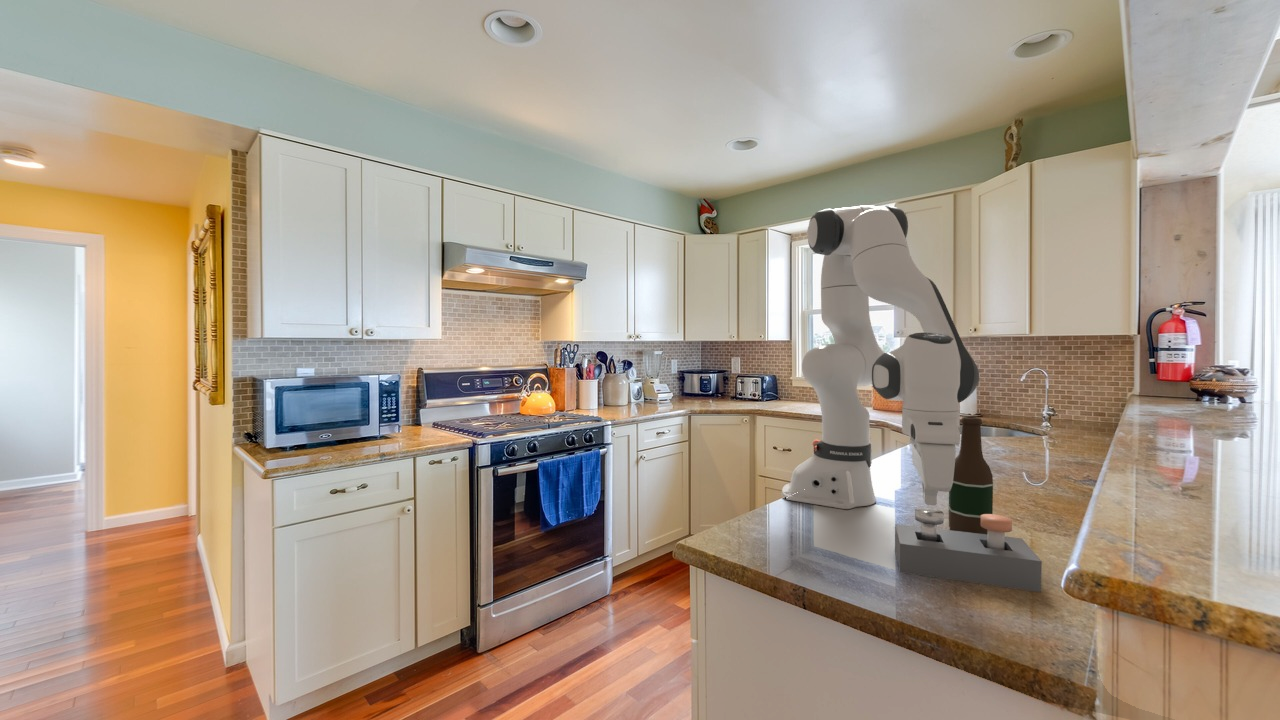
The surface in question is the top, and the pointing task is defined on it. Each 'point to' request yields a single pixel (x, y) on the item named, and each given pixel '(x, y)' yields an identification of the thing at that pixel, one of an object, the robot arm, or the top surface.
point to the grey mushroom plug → (929, 522)
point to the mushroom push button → (996, 529)
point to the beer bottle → (970, 482)
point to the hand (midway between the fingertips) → (929, 502)
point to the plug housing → (968, 558)
